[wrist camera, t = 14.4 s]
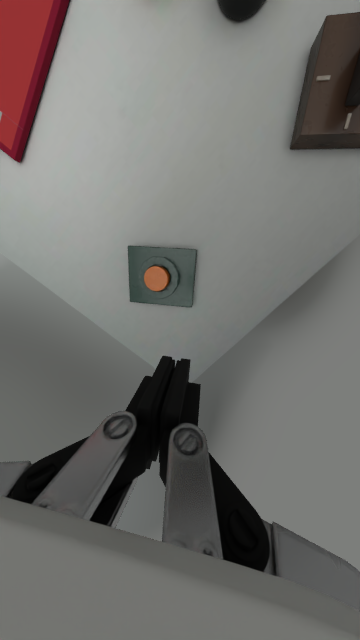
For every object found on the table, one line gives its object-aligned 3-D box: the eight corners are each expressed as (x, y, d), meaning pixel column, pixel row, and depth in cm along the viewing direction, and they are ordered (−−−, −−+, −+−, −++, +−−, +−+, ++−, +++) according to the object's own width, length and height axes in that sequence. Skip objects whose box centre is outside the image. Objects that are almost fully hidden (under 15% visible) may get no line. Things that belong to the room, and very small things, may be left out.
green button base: (197, 250, 30) (195, 248, 27) (192, 304, 34) (190, 310, 30) (132, 246, 32) (123, 244, 28) (134, 299, 35) (125, 303, 31)
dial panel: (402, 40, 20) (436, 1, 17) (367, 148, 23) (391, 131, 20) (310, 47, 21) (327, 12, 18) (289, 149, 25) (301, 133, 22)
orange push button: (170, 266, 29) (168, 267, 27) (169, 290, 30) (167, 292, 28) (147, 265, 29) (143, 265, 27) (147, 288, 30) (143, 290, 29)
